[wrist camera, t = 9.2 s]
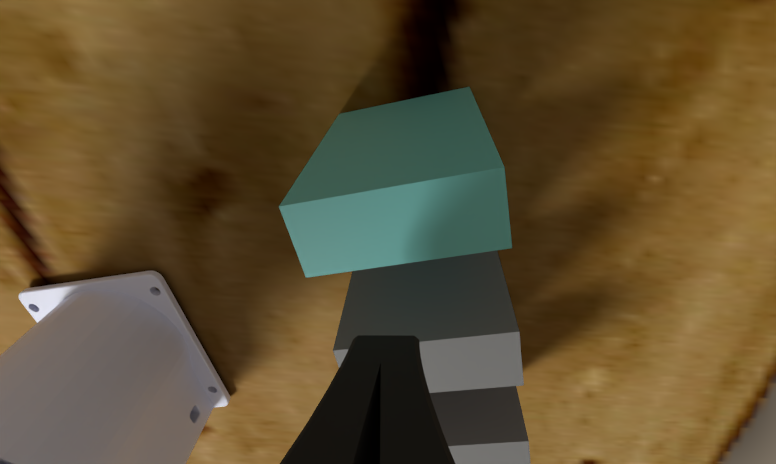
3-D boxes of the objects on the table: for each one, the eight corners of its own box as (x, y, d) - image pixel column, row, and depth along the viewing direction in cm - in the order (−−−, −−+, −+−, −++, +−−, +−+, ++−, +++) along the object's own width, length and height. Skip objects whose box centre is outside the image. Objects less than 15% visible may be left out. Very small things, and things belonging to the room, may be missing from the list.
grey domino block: (487, 238, 19) (523, 385, 12) (376, 253, 20) (350, 399, 13) (482, 197, 18) (519, 331, 11) (366, 215, 19) (333, 350, 12)
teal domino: (475, 138, 17) (512, 248, 10) (352, 162, 18) (306, 277, 11) (469, 86, 16) (504, 167, 9) (339, 113, 17) (279, 206, 10)
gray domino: (496, 316, 21) (531, 479, 14) (395, 327, 22) (382, 486, 15) (492, 283, 20) (528, 441, 13) (387, 296, 21) (370, 450, 14)
